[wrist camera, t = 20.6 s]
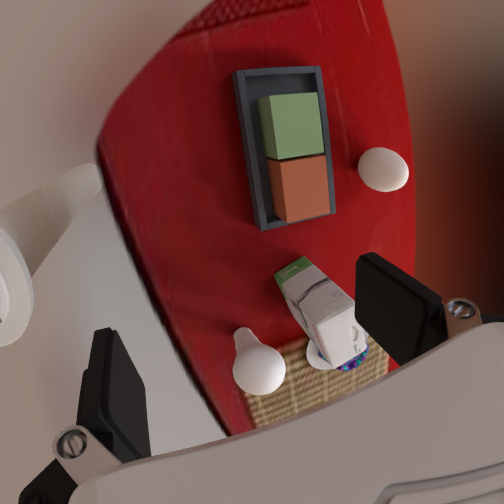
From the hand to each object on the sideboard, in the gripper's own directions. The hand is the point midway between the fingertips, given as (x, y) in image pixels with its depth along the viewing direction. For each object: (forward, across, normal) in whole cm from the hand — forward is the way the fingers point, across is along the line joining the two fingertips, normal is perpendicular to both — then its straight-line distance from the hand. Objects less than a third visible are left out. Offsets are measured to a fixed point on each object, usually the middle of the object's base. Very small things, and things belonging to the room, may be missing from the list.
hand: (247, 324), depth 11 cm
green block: (+24, -12, -5) cm, 27 cm away
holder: (+24, -12, -3) cm, 27 cm away
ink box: (+24, -12, +16) cm, 32 cm away
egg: (+24, -23, +1) cm, 34 cm away
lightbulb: (+24, -3, +20) cm, 32 cm away
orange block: (+24, -12, +1) cm, 27 cm away
